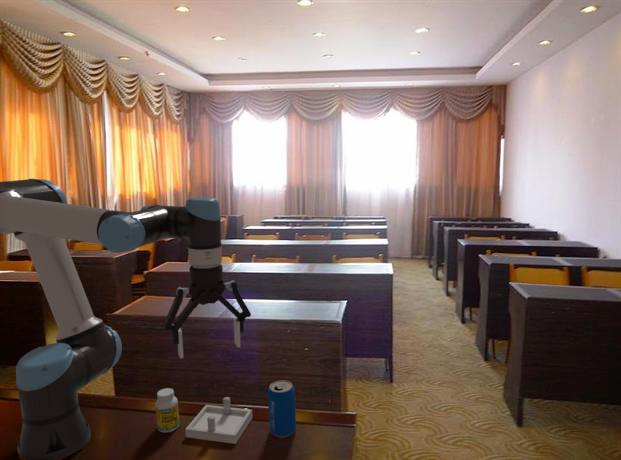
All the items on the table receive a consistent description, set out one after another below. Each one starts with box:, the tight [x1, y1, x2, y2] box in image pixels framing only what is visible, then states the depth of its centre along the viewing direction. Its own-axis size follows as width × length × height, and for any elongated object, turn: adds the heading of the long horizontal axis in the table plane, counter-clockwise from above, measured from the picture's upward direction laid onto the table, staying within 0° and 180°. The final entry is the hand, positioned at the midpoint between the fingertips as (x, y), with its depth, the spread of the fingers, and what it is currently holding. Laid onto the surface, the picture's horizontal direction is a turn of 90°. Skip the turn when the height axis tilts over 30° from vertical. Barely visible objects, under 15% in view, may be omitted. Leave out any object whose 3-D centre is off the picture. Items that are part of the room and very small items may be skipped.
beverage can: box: [267, 379, 297, 438], centre depth 110 cm, size 6×6×12 cm
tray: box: [185, 396, 253, 445], centre depth 113 cm, size 13×11×5 cm
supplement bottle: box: [154, 387, 181, 434], centre depth 114 cm, size 5×5×10 cm
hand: (209, 350), depth 109 cm, fingers open, 13 cm apart
